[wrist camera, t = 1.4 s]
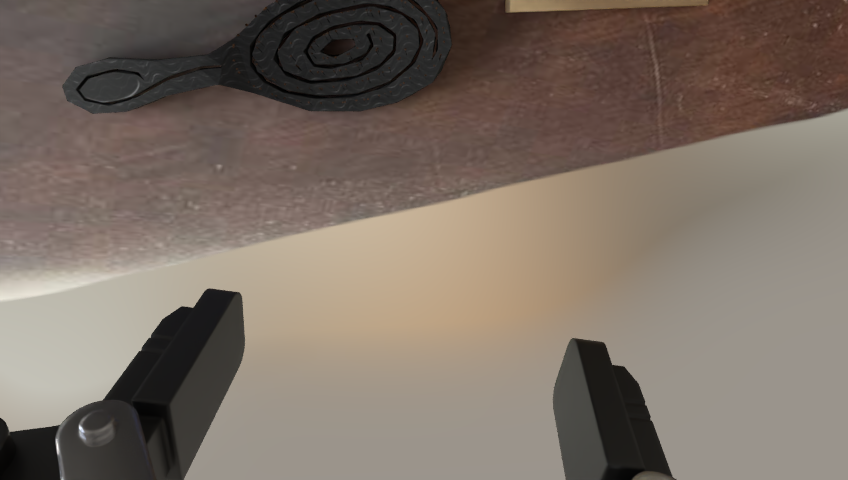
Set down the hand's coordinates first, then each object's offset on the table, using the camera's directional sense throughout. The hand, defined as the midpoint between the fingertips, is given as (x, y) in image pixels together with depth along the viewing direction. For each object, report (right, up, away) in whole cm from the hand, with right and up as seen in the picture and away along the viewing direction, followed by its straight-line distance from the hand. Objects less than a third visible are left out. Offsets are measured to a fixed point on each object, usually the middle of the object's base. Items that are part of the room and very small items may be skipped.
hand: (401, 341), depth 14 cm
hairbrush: (-10, +14, +23) cm, 29 cm away
